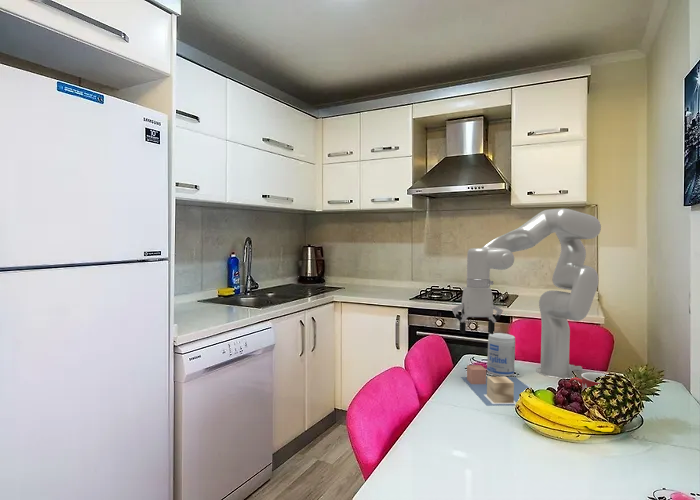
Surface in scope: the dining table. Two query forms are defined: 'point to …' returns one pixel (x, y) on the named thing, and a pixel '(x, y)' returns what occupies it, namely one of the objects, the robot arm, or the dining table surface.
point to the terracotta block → (476, 374)
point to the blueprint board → (482, 394)
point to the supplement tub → (501, 354)
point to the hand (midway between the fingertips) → (476, 333)
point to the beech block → (500, 389)
